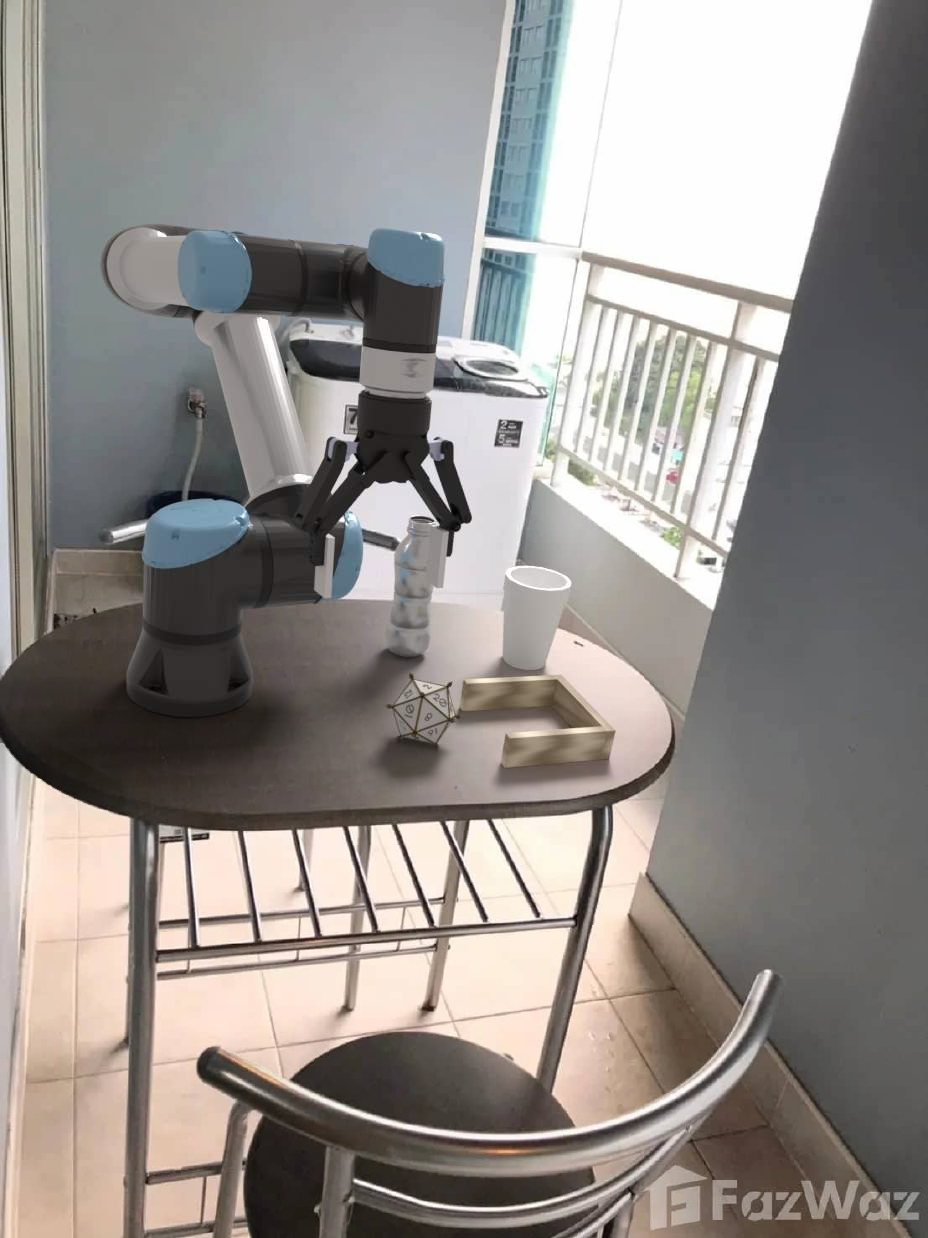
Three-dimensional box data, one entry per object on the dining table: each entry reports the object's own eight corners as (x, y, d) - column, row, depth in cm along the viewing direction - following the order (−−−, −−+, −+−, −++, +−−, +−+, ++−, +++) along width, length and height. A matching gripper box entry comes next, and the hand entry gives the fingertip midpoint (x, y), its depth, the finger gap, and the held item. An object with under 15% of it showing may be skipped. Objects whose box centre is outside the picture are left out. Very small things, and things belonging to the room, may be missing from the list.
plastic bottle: (437, 653, 145) (455, 521, 138) (410, 667, 140) (428, 530, 132) (401, 638, 148) (417, 508, 141) (373, 651, 143) (388, 517, 135)
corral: (504, 767, 118) (509, 738, 117) (459, 706, 131) (463, 679, 130) (609, 758, 124) (615, 730, 122) (556, 701, 136) (561, 674, 135)
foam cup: (551, 680, 142) (567, 595, 137) (487, 666, 144) (501, 582, 139) (558, 654, 151) (574, 573, 146) (498, 641, 152) (511, 561, 147)
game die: (428, 762, 124) (484, 704, 123) (415, 773, 116) (475, 710, 115) (377, 712, 125) (431, 653, 124) (360, 719, 117) (419, 656, 116)
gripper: (295, 394, 93) (285, 610, 100) (517, 400, 106) (494, 590, 113) (265, 382, 99) (258, 586, 106) (479, 389, 112) (460, 570, 119)
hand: (380, 589), depth 110 cm, fingers open, 13 cm apart
